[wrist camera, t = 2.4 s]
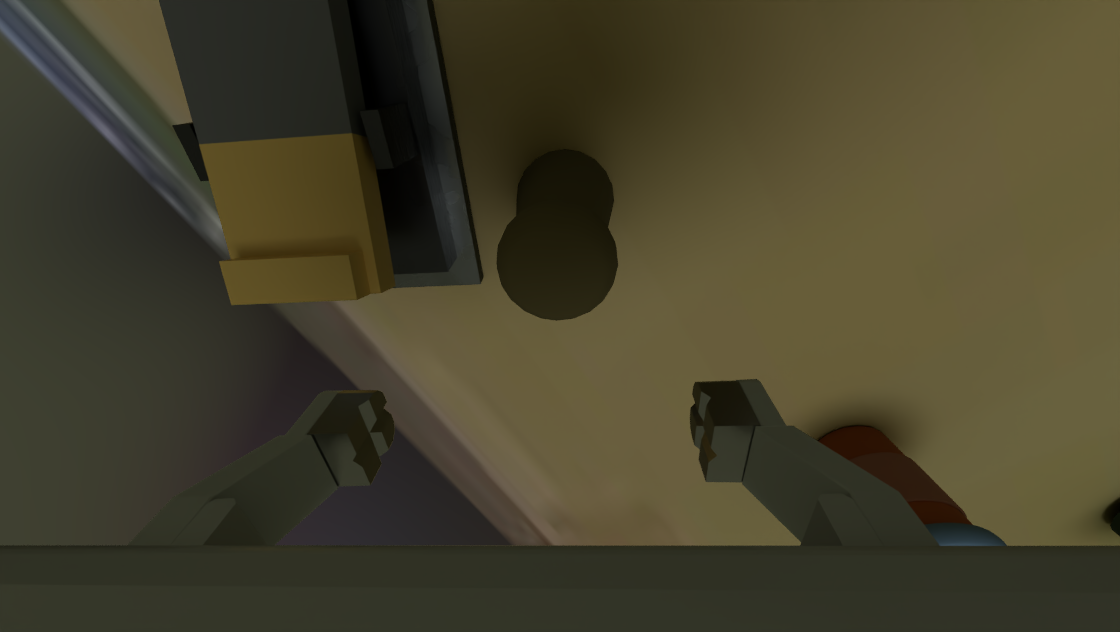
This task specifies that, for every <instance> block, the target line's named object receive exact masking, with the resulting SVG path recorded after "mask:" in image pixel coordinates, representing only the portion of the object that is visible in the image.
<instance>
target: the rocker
mask: <svg viewBox="0 0 1120 632" xmlns="http://www.w3.org/2000/svg"><path fill="white" fill-rule="evenodd" d="M159 2H160V6H161V10H162V13H163V17H164V20H165V24H166V27H167V31H168V35H169V38H170V42H171V45H172V49H173V53H174V56H175V60H176V63H177V67H178V71H179V74H180V78H181V81H182V85H183V89H184V92H185V96H186V99H187V103H188V107H189V110H190V114H191V117H192V121H193V124H194V128H195V132H196V135H197V139H198V142H199V146H200V150H201V153H202V157H203V160H204V164H205V168H206V171H207V175H208V178H209V182H210V186H211V189H212V193H213V196H214V200H215V203H216V207H217V211H218V214H219V218H220V221H221V225H222V229H223V232H224V236H225V239H226V243H227V247H228V250H229V254H230V257H231V259H230V260H224V261H220V262H219V263H220V267H221V270H222V273H223V277H224V280H225V284H226V287H227V291H228V294H229V298H230V301H231V304H232V305H241V304H267V303H292V302H316V301H341V300H358V299H360V298H362V297H364V296H367V295H369V294H373V293H382V292H384V291H386V290H388V289H390V288H393V287H395V286H396V285H395V279H394V273H393V267H392V261H391V255H390V249H389V243H388V238H387V232H386V226H385V220H384V214H383V208H382V202H381V196H380V191H379V185H378V179H377V173H376V167H375V162H374V159H373V155H372V152H371V149H370V145H369V142H368V138H367V135H366V131H365V128H364V124H363V121H362V117H361V114H360V111H362V110H366V108H365V103H364V97H363V91H362V85H361V79H360V73H359V67H358V62H357V56H356V50H355V44H354V38H353V32H352V26H351V20H350V15H349V9H348V3H347V0H159Z"/></svg>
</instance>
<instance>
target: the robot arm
mask: <svg viewBox="0 0 1120 632" xmlns="http://www.w3.org/2000/svg"><path fill="white" fill-rule="evenodd" d="M692 395H693V398H694V401H695V404H694V405H693V406H692V407H691V410H690V429H691V434H692V439H693V442H694V445H695V446H696V447H698V448H699V449H700V453H699V462H700V465H701V468H702V471H703V474H704V478H705V481H706V482H743V483H742V484H743V485H744V486H745V487H746V488H747V489H748V490H749V491H750V492H751V493H752V494H753V495H754V496H755V497H756V498H757V499H758V500H759V501H760V502H761V503H762V504H763V505H764V506H765V507H766V508H767V509H768V510H769V511H770V512H771V513H772V514H773V515H774V516H775V517H776V518H777V519H778V520H779V521H780V522H781V523H782V524H783V525H784V526H785V527H786V528H787V529H788V530H789V531H790V532H791V533H792V534H793V535H794V536H795V537H796V538H797V539H798V540H799V541H800V542H801V545H800V546H460V545H459V546H458V545H457V546H455V545H454V546H452V545H449V546H446V545H444V546H442V545H441V546H438V545H436V546H435V545H433V546H431V545H428V546H427V545H426V546H425V545H419V546H418V545H416V546H414V545H411V546H410V545H399V546H398V545H397V546H395V545H390V546H388V545H367V546H366V545H359V546H358V545H353V546H352V545H349V546H348V545H343V546H342V545H336V546H335V545H323V546H322V545H308V546H307V545H306V546H305V545H297V546H296V545H283V546H282V545H275V544H276V543H277V542H279V541H280V540H281V539H282V538H283V537H284V536H285V535H286V534H288V533H289V532H290V531H291V530H292V529H293V528H294V527H295V526H296V525H298V524H299V523H300V522H301V521H302V520H303V519H304V518H305V517H307V516H308V515H309V514H310V513H311V512H312V511H313V510H314V509H315V508H317V507H318V506H319V505H320V504H321V503H322V502H323V501H324V500H326V498H328V497H329V496H330V495H331V494H332V493H333V492H335V491H336V490H337V489H338V486H362V485H371V483H372V481H373V479H374V477H375V476H376V473H377V471H378V469H379V468H380V466H381V461H380V456H381V455H382V454H384V453H385V452H386V451H388V450H389V448H390V446H391V444H392V441H393V437H394V432H395V427H394V420H393V417H392V415H391V414H390V413H389V412H388V411H386V410H385V409H384V406H385V404H386V403H387V401H386V399H385V396H384V394H383V392H381V391H378V390H356V391H354V390H353V391H351V390H349V391H348V390H345V391H344V390H343V391H324V392H322V393H320V394H319V395H318V396H317V397H316V398H315V400H314V401H313V402H312V404H311V405H310V406H309V407H308V408H307V409H306V411H305V412H304V413H303V414H302V416H301V417H300V418H299V419H298V420H297V421H296V423H295V424H294V425H293V426H292V428H291V429H290V430H289V431H288V432H287V434H286V435H284V436H278V437H276V438H274V439H273V440H271V441H269V442H268V443H266V444H264V445H262V446H261V447H259V448H257V449H255V450H254V451H252V452H250V453H249V454H247V455H245V456H243V457H242V458H240V459H238V460H237V461H235V462H233V463H231V464H230V465H228V466H226V467H224V468H223V469H221V470H219V471H218V472H216V473H214V474H212V475H211V476H209V477H207V478H205V479H204V480H202V481H200V482H199V483H197V484H195V485H193V486H192V487H190V488H188V489H186V490H185V491H183V492H181V493H180V494H178V495H176V496H174V497H173V498H172V499H171V500H170V501H169V502H168V503H167V504H166V505H165V506H164V507H163V508H162V509H161V510H160V512H159V513H158V514H157V515H156V516H155V517H154V518H153V519H152V520H151V521H150V522H149V523H148V524H147V525H146V526H145V527H144V528H143V529H142V530H141V531H140V532H139V533H138V534H137V535H136V537H135V538H134V539H133V540H132V541H131V542H130V543H129V544H128V545H51V546H50V545H38V546H37V545H5V546H4V545H0V632H1120V546H940V545H939V544H938V542H937V541H936V540H935V538H934V537H933V536H932V535H931V533H930V532H929V531H928V529H927V528H926V527H925V525H924V524H923V523H922V521H921V520H920V519H919V517H918V516H917V515H916V513H915V512H914V511H913V509H912V508H911V507H910V506H909V504H908V503H907V502H906V500H905V499H904V498H903V496H902V495H901V494H900V492H899V491H897V490H895V489H894V488H892V487H891V486H889V485H887V484H886V483H884V482H883V481H881V480H879V479H878V478H876V477H874V476H873V475H871V474H870V473H868V472H866V471H865V470H863V469H862V468H860V467H858V466H857V465H855V464H854V463H852V462H850V461H849V460H847V459H846V458H844V457H842V456H841V455H839V454H838V453H836V452H834V451H833V450H831V449H829V448H828V447H826V446H825V445H823V444H821V443H820V442H818V441H817V440H815V439H813V438H812V437H810V436H809V435H807V434H805V433H804V432H802V431H801V430H799V429H797V428H796V427H794V426H786V424H785V422H784V421H783V419H782V417H781V416H780V414H779V412H778V411H777V409H776V407H775V406H774V404H773V402H772V401H771V399H770V397H769V396H768V394H767V392H766V390H765V389H764V387H763V385H762V384H761V382H760V381H759V380H757V379H747V380H736V381H706V382H695V383H694V386H693V392H692Z"/></svg>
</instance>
